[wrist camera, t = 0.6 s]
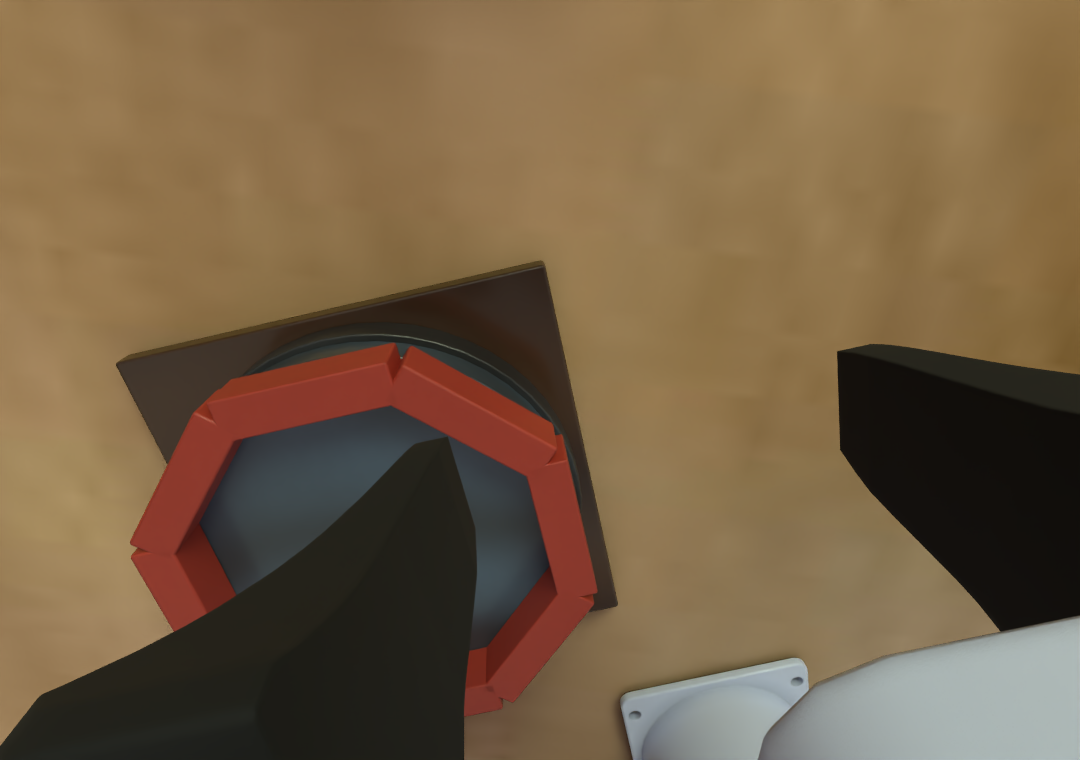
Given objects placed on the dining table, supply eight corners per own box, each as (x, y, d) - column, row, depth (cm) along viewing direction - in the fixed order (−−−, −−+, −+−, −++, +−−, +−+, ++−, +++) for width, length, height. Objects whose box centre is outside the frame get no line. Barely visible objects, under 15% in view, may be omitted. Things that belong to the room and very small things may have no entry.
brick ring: (611, 647, 22) (619, 685, 20) (266, 720, 22) (249, 763, 21) (534, 310, 17) (537, 327, 15) (95, 409, 17) (57, 436, 16)
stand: (615, 592, 25) (639, 689, 21) (284, 663, 25) (241, 772, 21) (543, 259, 20) (555, 297, 15) (127, 354, 20) (27, 416, 16)
